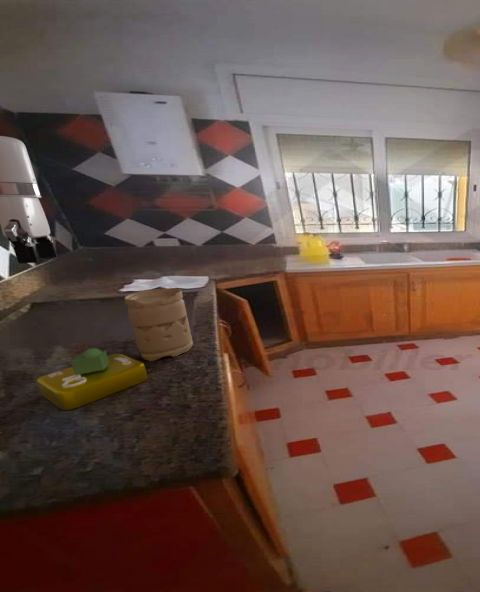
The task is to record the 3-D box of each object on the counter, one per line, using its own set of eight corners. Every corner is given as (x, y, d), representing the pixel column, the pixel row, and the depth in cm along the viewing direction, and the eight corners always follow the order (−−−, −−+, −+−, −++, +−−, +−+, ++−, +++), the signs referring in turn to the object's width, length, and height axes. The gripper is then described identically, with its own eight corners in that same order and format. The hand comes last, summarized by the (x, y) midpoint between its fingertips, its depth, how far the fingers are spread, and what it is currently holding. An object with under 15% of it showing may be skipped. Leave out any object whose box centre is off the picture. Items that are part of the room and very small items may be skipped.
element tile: (151, 379, 79) (146, 362, 77) (65, 413, 66) (58, 393, 64) (122, 366, 85) (117, 350, 84) (39, 395, 72) (32, 376, 71)
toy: (75, 375, 71) (68, 355, 70) (82, 367, 75) (76, 348, 73) (103, 369, 74) (97, 350, 72) (109, 362, 77) (104, 344, 76)
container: (198, 350, 95) (186, 293, 90) (144, 365, 86) (127, 302, 81) (187, 339, 103) (175, 286, 98) (136, 352, 94) (120, 294, 89)
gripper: (14, 192, 83) (36, 257, 88) (-33, 189, 69) (-4, 266, 73) (55, 193, 87) (73, 255, 91) (18, 190, 72) (42, 263, 77)
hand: (39, 260), depth 82 cm, fingers open, 9 cm apart
